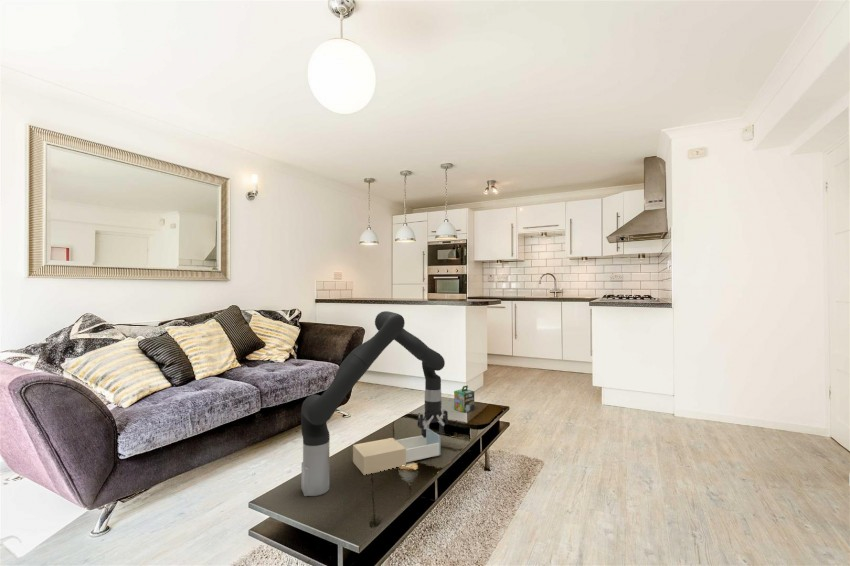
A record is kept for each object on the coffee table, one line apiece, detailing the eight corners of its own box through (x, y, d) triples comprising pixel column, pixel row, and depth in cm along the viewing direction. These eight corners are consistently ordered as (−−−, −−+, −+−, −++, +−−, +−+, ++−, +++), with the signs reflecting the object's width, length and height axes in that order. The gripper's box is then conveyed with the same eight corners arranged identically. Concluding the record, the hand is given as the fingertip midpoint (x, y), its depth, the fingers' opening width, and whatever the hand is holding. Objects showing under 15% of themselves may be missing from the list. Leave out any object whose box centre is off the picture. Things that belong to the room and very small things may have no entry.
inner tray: (386, 466, 158) (386, 446, 158) (376, 455, 169) (376, 436, 169) (440, 454, 170) (440, 435, 170) (427, 445, 180) (427, 427, 181)
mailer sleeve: (363, 475, 153) (363, 457, 153) (352, 461, 165) (353, 444, 165) (405, 465, 161) (405, 448, 161) (392, 453, 173) (392, 437, 174)
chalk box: (464, 406, 246) (464, 383, 247) (475, 410, 239) (474, 385, 240) (453, 409, 241) (453, 385, 241) (464, 413, 234) (464, 387, 234)
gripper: (422, 402, 169) (422, 441, 169) (451, 399, 176) (450, 435, 175) (415, 398, 176) (414, 435, 175) (442, 395, 182) (442, 430, 182)
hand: (432, 435), depth 175 cm, fingers open, 8 cm apart
